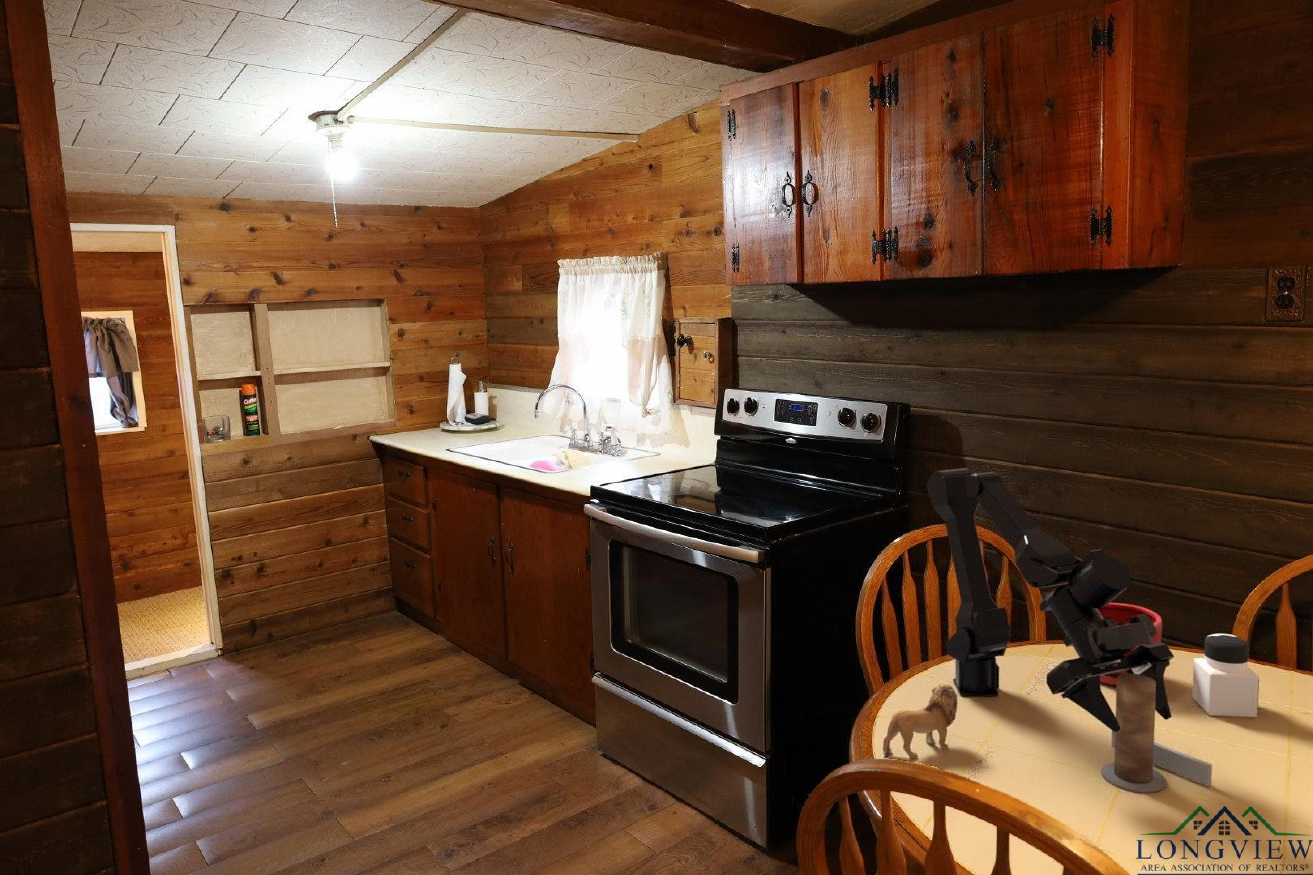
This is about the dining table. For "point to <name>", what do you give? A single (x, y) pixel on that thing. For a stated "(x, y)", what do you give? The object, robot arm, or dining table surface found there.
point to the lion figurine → (924, 720)
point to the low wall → (1180, 763)
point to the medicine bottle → (1225, 678)
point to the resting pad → (1153, 786)
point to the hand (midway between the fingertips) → (1143, 724)
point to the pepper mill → (1135, 728)
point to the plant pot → (1123, 614)
